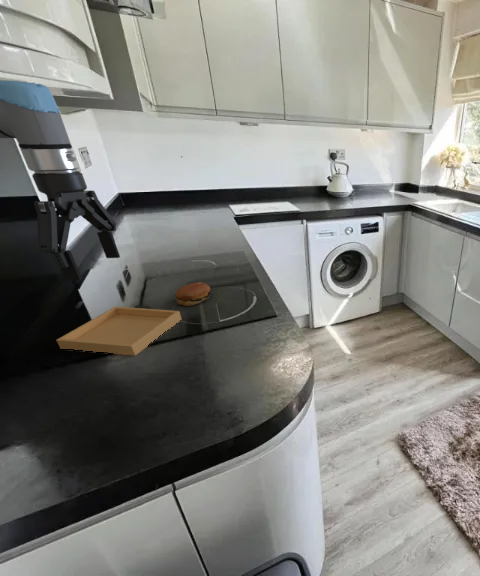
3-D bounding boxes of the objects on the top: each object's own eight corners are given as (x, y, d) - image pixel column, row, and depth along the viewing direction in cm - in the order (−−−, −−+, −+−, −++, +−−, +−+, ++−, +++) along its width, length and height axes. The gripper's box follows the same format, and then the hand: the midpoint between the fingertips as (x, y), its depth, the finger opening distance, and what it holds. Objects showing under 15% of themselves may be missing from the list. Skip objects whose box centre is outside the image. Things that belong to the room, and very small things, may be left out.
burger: (172, 307, 97) (168, 294, 95) (184, 294, 105) (180, 281, 103) (207, 305, 99) (204, 291, 97) (216, 292, 107) (213, 279, 105)
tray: (60, 349, 78) (55, 340, 77) (118, 314, 93) (115, 306, 92) (135, 355, 77) (131, 346, 75) (181, 319, 91) (179, 310, 90)
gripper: (24, 179, 55) (74, 291, 64) (114, 165, 77) (141, 249, 86) (-26, 179, 54) (32, 292, 63) (79, 165, 76) (111, 250, 85)
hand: (95, 268), depth 75 cm, fingers open, 13 cm apart
